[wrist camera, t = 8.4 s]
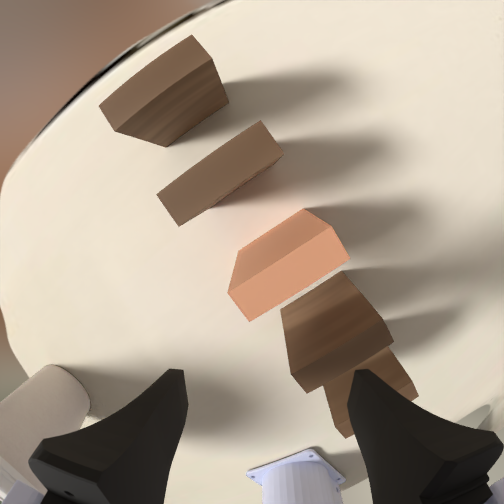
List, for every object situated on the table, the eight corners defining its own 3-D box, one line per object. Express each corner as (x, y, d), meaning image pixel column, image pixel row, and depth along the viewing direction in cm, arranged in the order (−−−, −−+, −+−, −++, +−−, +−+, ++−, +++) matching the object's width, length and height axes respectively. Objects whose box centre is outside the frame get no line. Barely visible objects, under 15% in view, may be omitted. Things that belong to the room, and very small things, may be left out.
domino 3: (316, 229, 19) (350, 258, 12) (252, 270, 20) (249, 321, 12) (303, 208, 19) (331, 226, 11) (238, 250, 19) (227, 293, 12)
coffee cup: (118, 427, 24) (66, 538, 9) (56, 418, 25) (-1, 502, 10) (78, 351, 22) (-18, 463, 7) (18, 350, 22) (-65, 428, 8)
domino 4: (351, 288, 20) (394, 341, 13) (292, 326, 21) (307, 393, 13) (341, 270, 20) (382, 318, 12) (280, 309, 20) (290, 374, 13)
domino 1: (228, 102, 17) (211, 58, 10) (166, 147, 18) (114, 131, 11) (215, 84, 17) (191, 34, 10) (153, 129, 18) (98, 105, 10)
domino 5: (378, 336, 21) (418, 396, 14) (324, 370, 22) (345, 438, 14) (370, 322, 21) (412, 381, 13) (314, 357, 21) (334, 426, 14)
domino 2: (273, 164, 18) (284, 153, 11) (208, 208, 19) (178, 226, 12) (259, 143, 18) (260, 120, 11) (194, 188, 19) (156, 194, 11)
